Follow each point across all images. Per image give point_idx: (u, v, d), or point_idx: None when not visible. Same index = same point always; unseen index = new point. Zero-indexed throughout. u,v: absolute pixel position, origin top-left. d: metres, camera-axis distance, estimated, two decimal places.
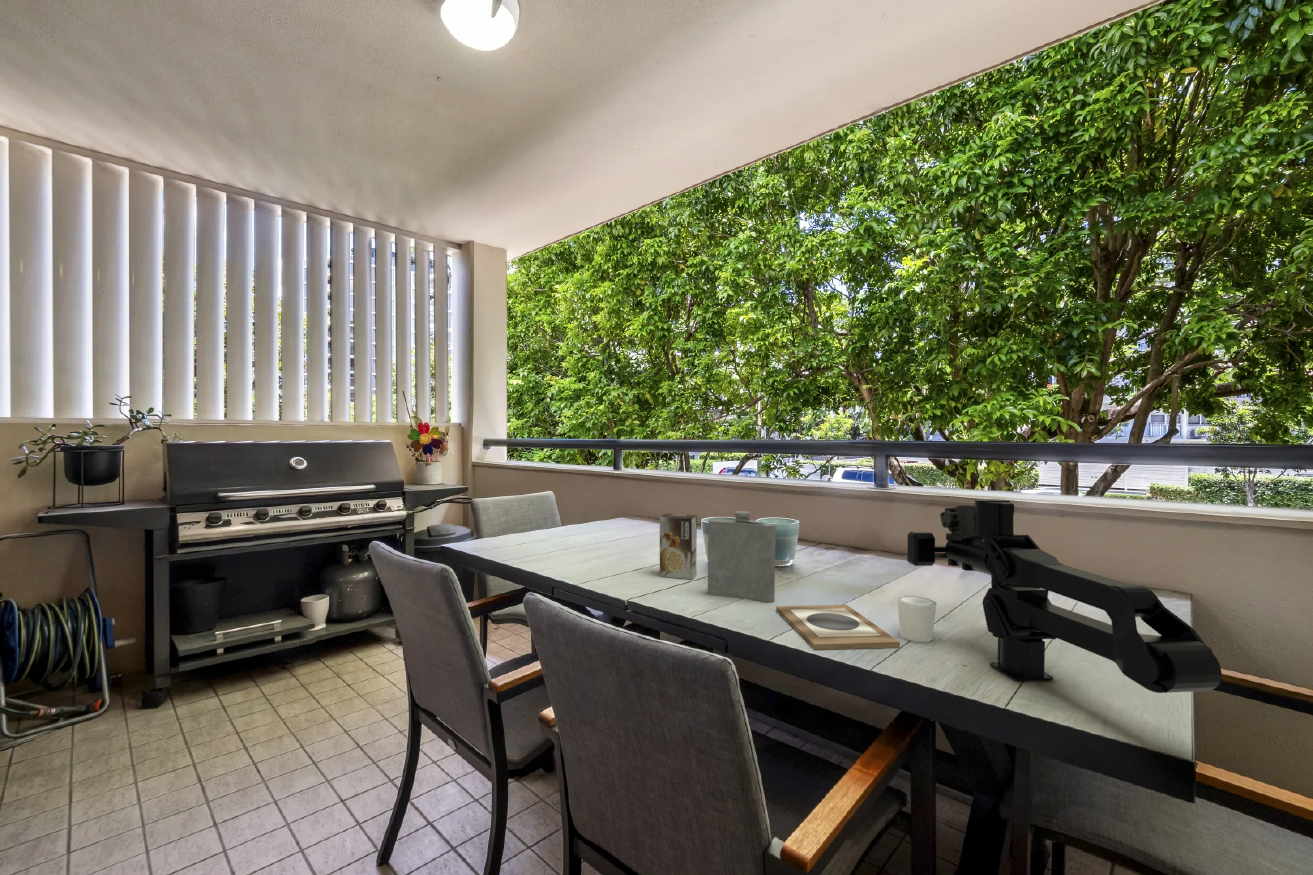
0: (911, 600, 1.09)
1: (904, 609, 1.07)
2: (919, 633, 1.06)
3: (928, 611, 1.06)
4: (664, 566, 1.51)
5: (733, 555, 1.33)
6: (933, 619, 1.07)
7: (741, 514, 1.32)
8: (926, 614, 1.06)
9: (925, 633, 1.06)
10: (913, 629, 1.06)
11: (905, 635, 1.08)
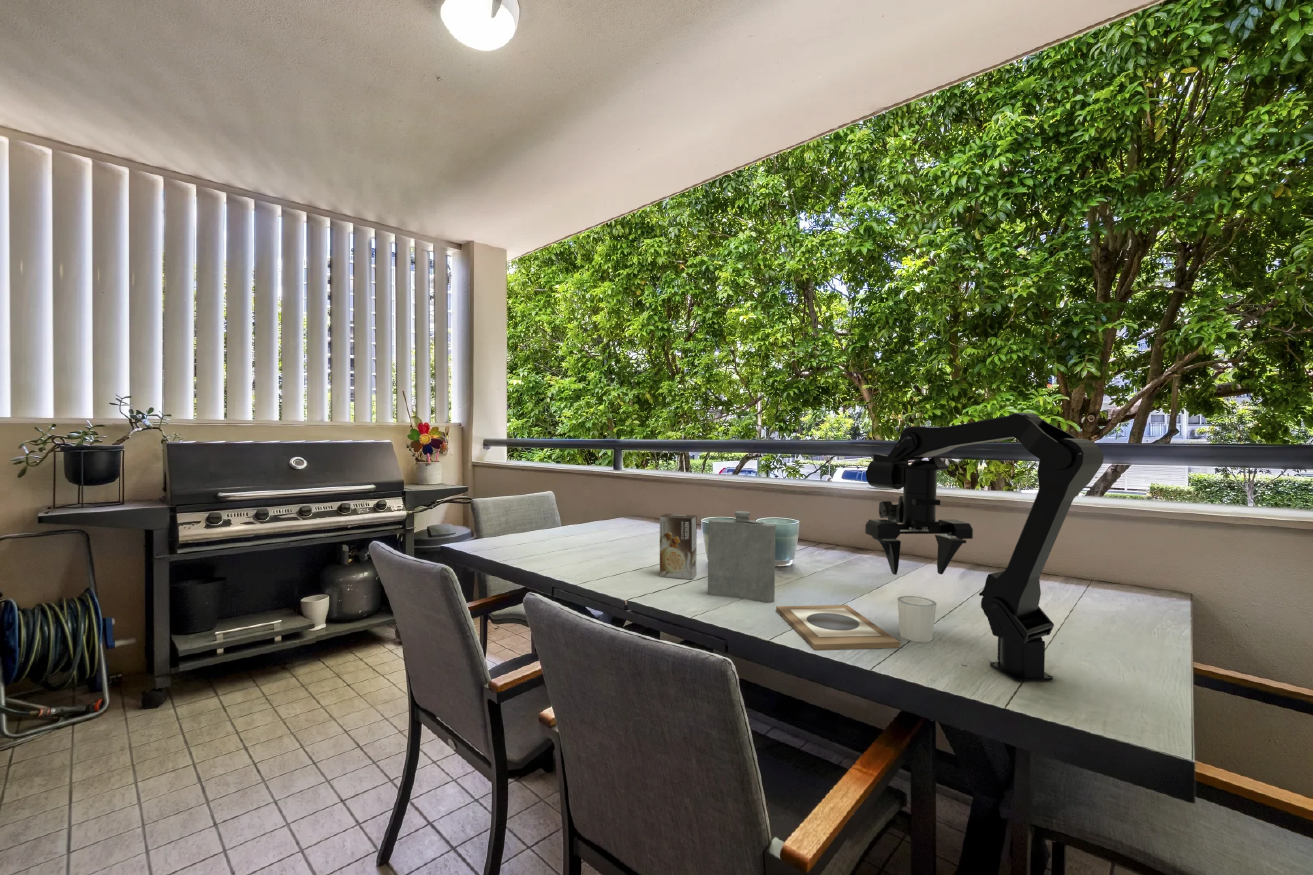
0: (911, 600, 1.09)
1: (904, 609, 1.07)
2: (919, 633, 1.06)
3: (928, 611, 1.06)
4: (664, 566, 1.51)
5: (733, 555, 1.33)
6: (933, 619, 1.07)
7: (741, 514, 1.32)
8: (926, 614, 1.06)
9: (925, 633, 1.06)
10: (913, 629, 1.06)
11: (905, 635, 1.08)
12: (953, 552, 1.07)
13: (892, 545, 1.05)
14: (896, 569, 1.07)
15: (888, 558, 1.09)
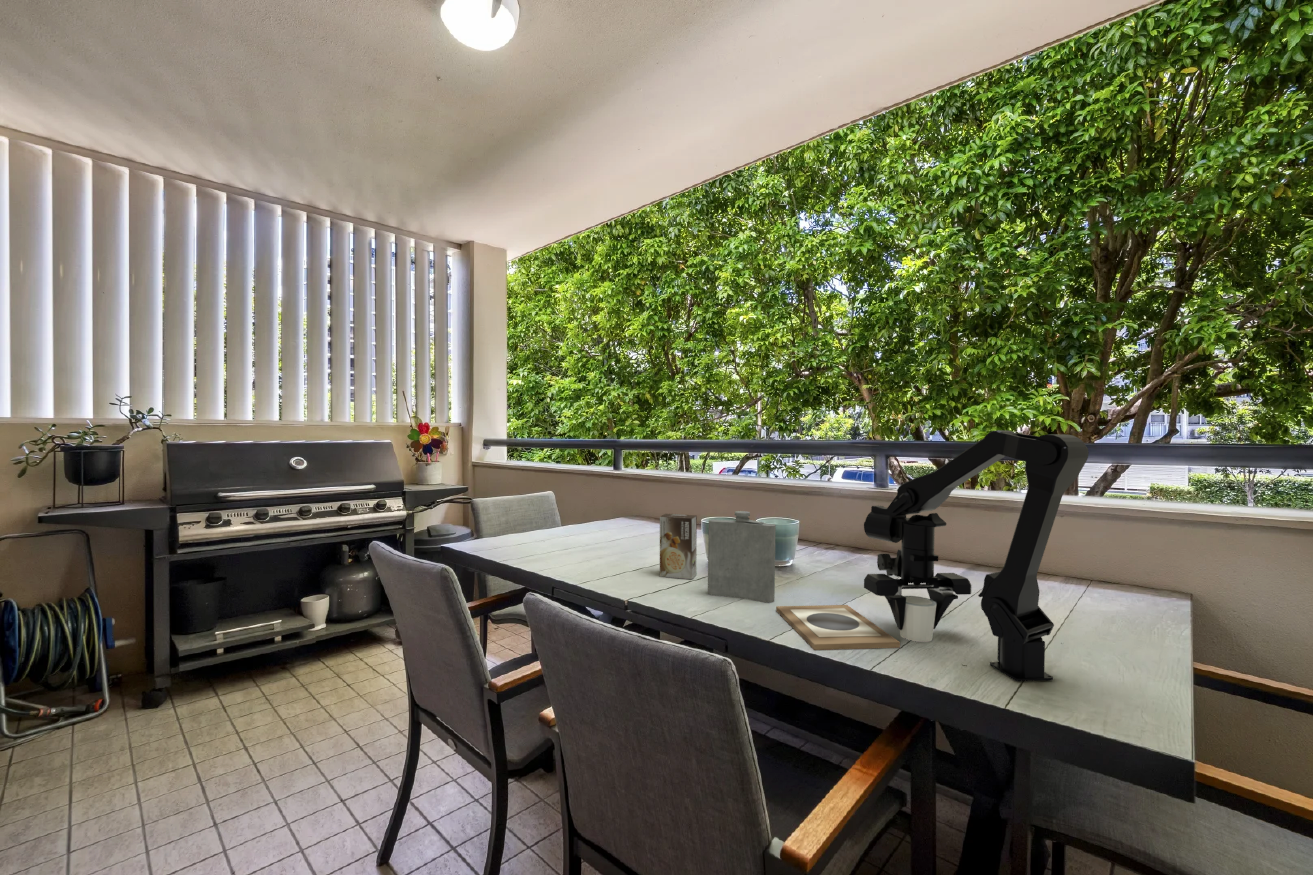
0: (911, 600, 1.09)
1: None
2: (919, 633, 1.06)
3: (928, 611, 1.06)
4: (664, 566, 1.51)
5: (733, 555, 1.33)
6: (933, 619, 1.07)
7: (741, 514, 1.32)
8: (926, 614, 1.06)
9: (925, 633, 1.06)
10: (913, 629, 1.06)
11: (905, 635, 1.08)
12: (945, 607, 1.07)
13: (897, 601, 1.06)
14: (902, 624, 1.08)
15: (893, 613, 1.09)
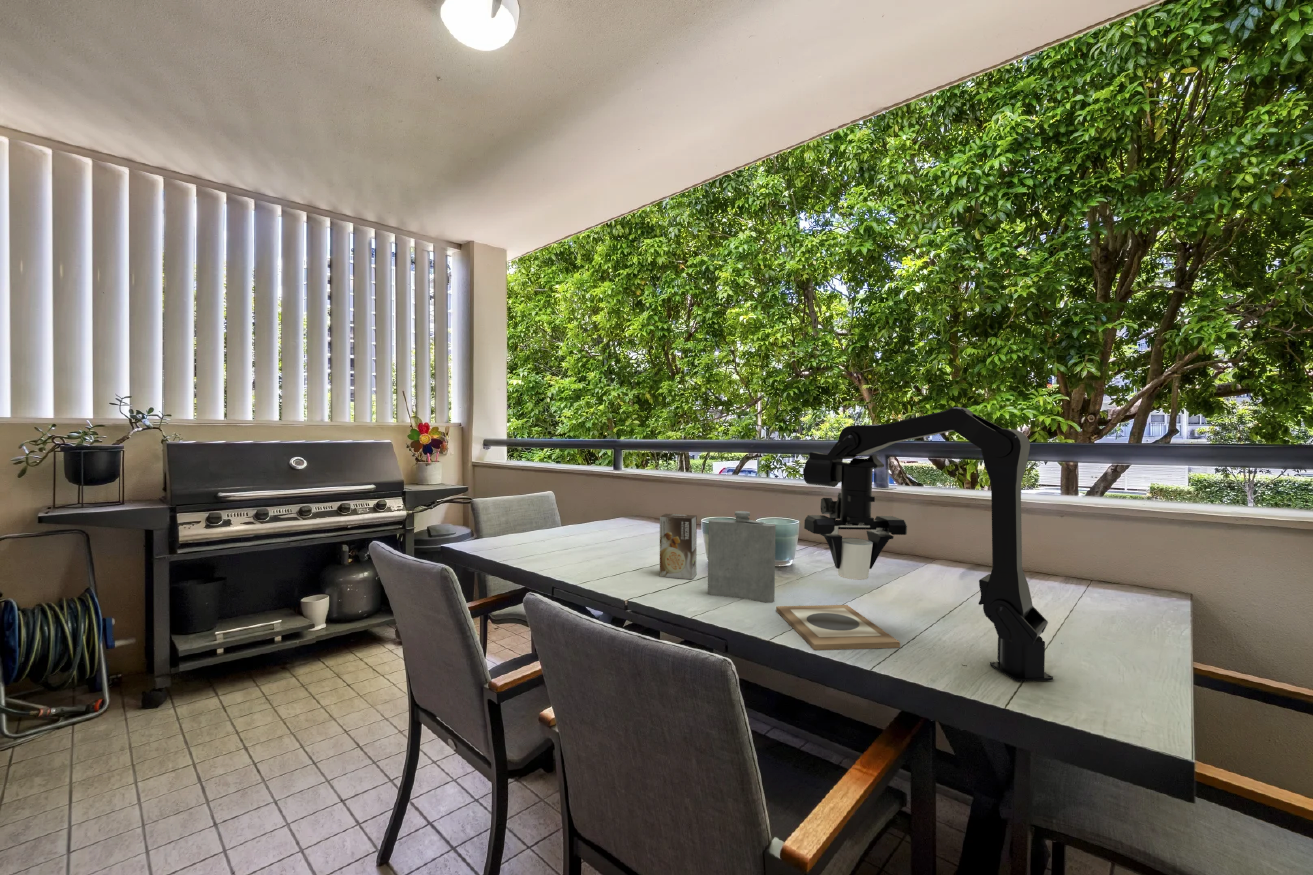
0: (849, 540, 1.13)
1: None
2: (854, 571, 1.10)
3: (863, 549, 1.09)
4: (664, 566, 1.51)
5: (733, 555, 1.33)
6: (868, 558, 1.10)
7: (741, 514, 1.32)
8: (862, 552, 1.09)
9: (860, 571, 1.10)
10: (849, 567, 1.10)
11: (842, 573, 1.11)
12: (881, 547, 1.11)
13: (834, 540, 1.09)
14: (839, 563, 1.11)
15: (832, 553, 1.12)
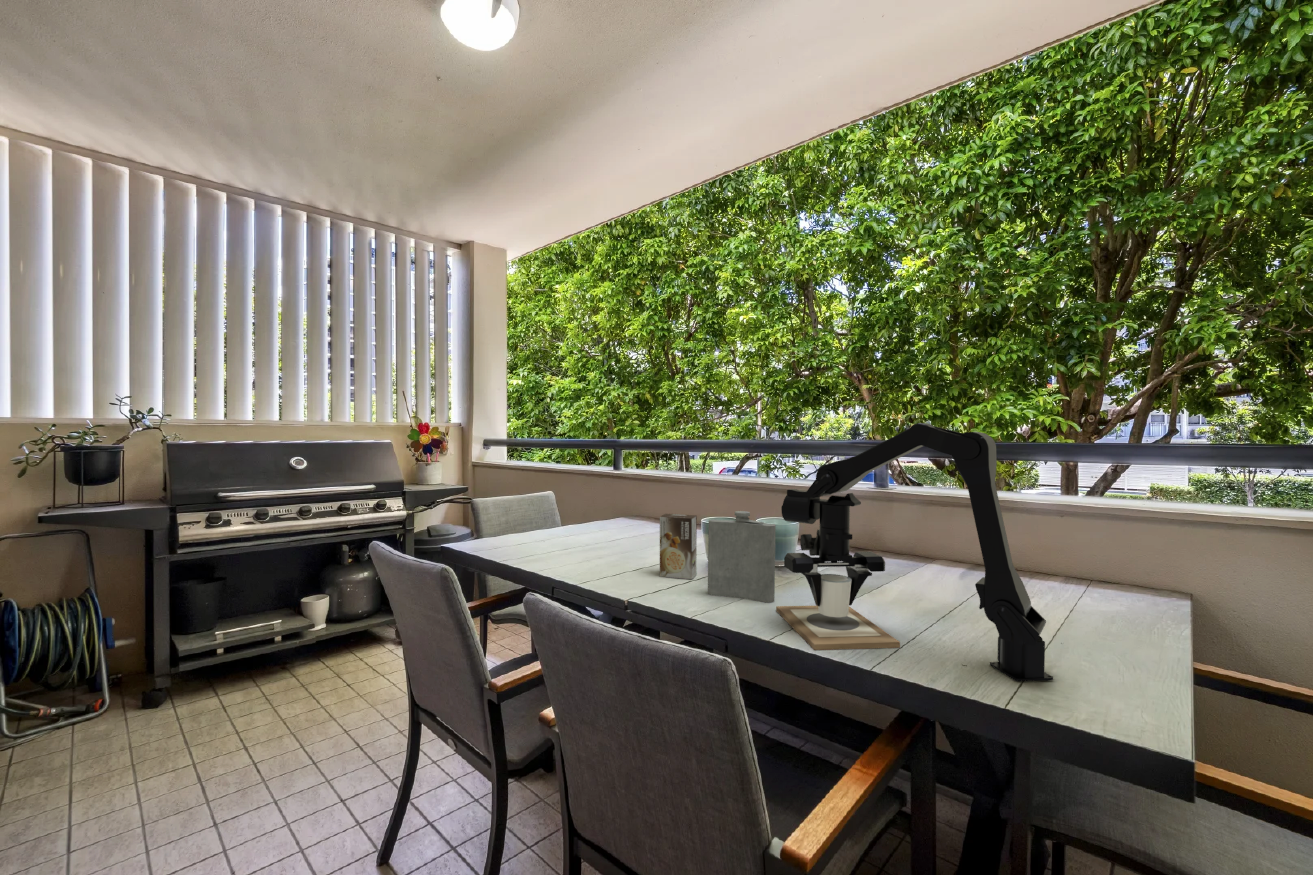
0: (829, 577, 1.14)
1: None
2: (834, 609, 1.11)
3: (842, 587, 1.10)
4: (664, 566, 1.51)
5: (733, 555, 1.33)
6: (847, 595, 1.11)
7: (741, 514, 1.32)
8: (841, 590, 1.10)
9: (840, 608, 1.11)
10: (829, 604, 1.11)
11: (822, 611, 1.12)
12: (860, 584, 1.12)
13: (813, 578, 1.10)
14: (819, 601, 1.12)
15: (812, 590, 1.13)
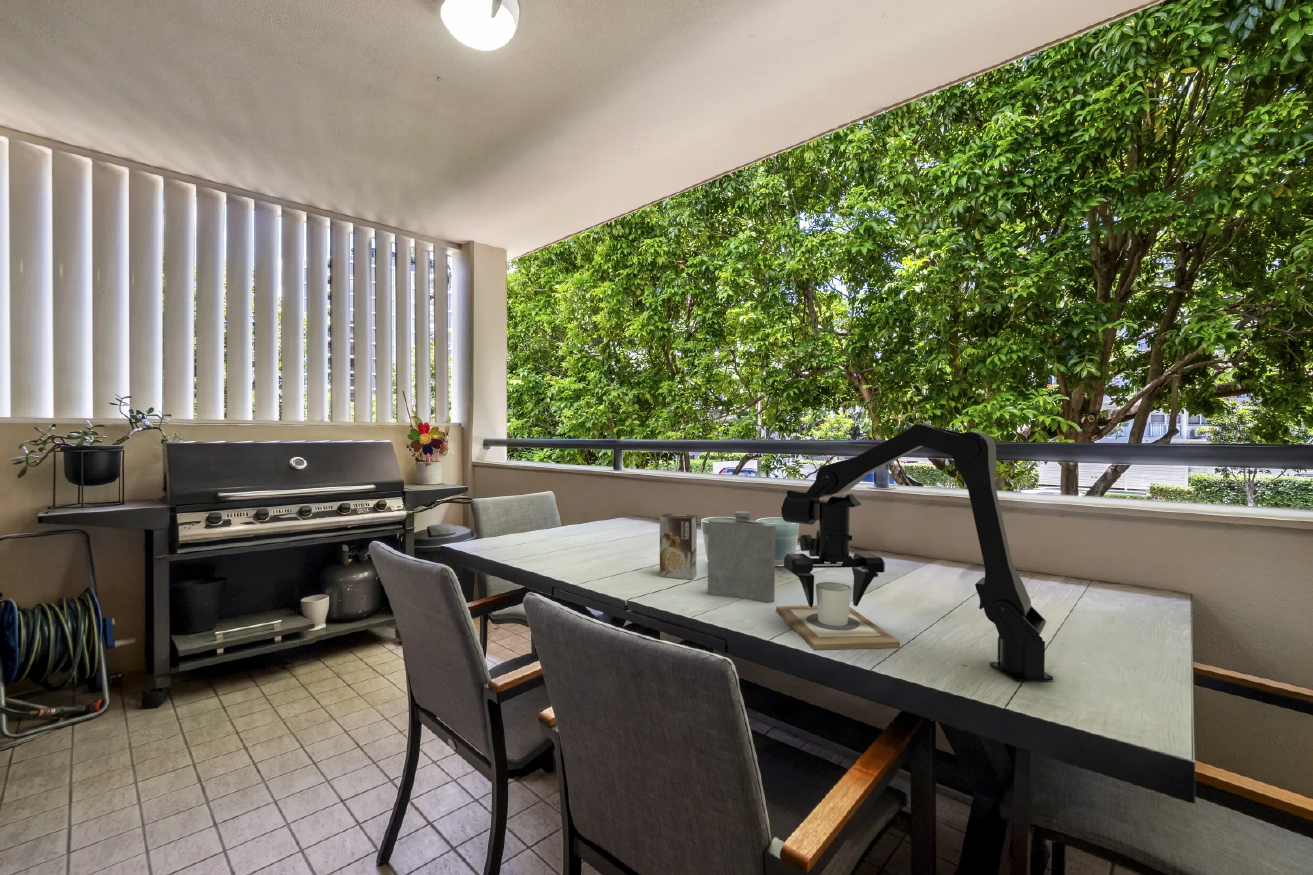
0: (828, 586, 1.14)
1: (820, 594, 1.12)
2: (834, 617, 1.11)
3: (842, 596, 1.10)
4: (664, 566, 1.51)
5: (733, 555, 1.33)
6: (847, 604, 1.11)
7: (741, 514, 1.32)
8: (840, 599, 1.10)
9: (840, 617, 1.11)
10: (828, 613, 1.11)
11: (822, 619, 1.12)
12: (866, 585, 1.12)
13: (806, 579, 1.10)
14: (811, 602, 1.12)
15: (805, 591, 1.13)
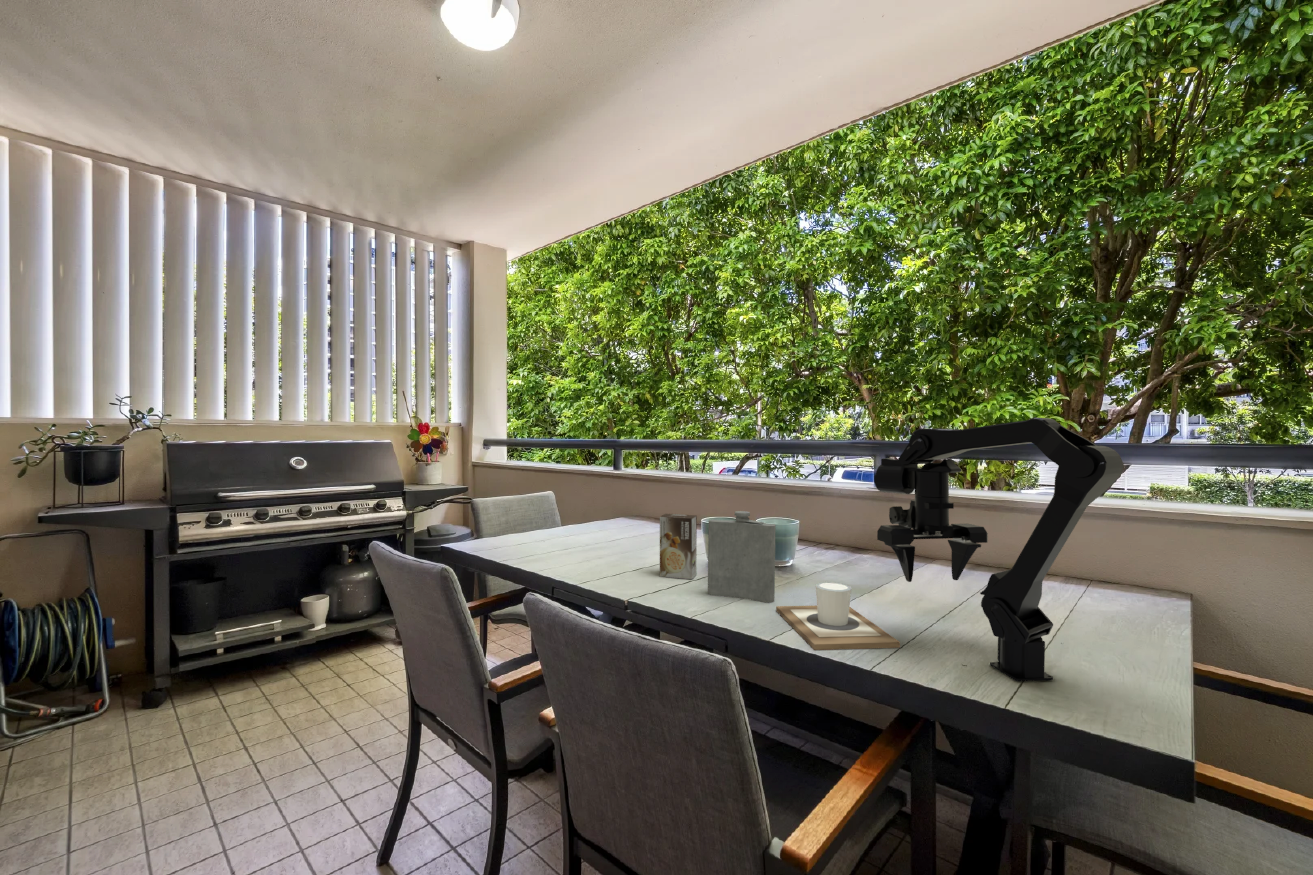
0: (828, 586, 1.14)
1: (820, 594, 1.12)
2: (834, 617, 1.11)
3: (842, 596, 1.10)
4: (664, 566, 1.51)
5: (733, 555, 1.33)
6: (847, 604, 1.11)
7: (741, 514, 1.32)
8: (840, 599, 1.10)
9: (840, 617, 1.11)
10: (828, 613, 1.11)
11: (822, 619, 1.12)
12: (968, 557, 1.04)
13: (906, 551, 1.02)
14: (911, 576, 1.04)
15: (902, 565, 1.05)
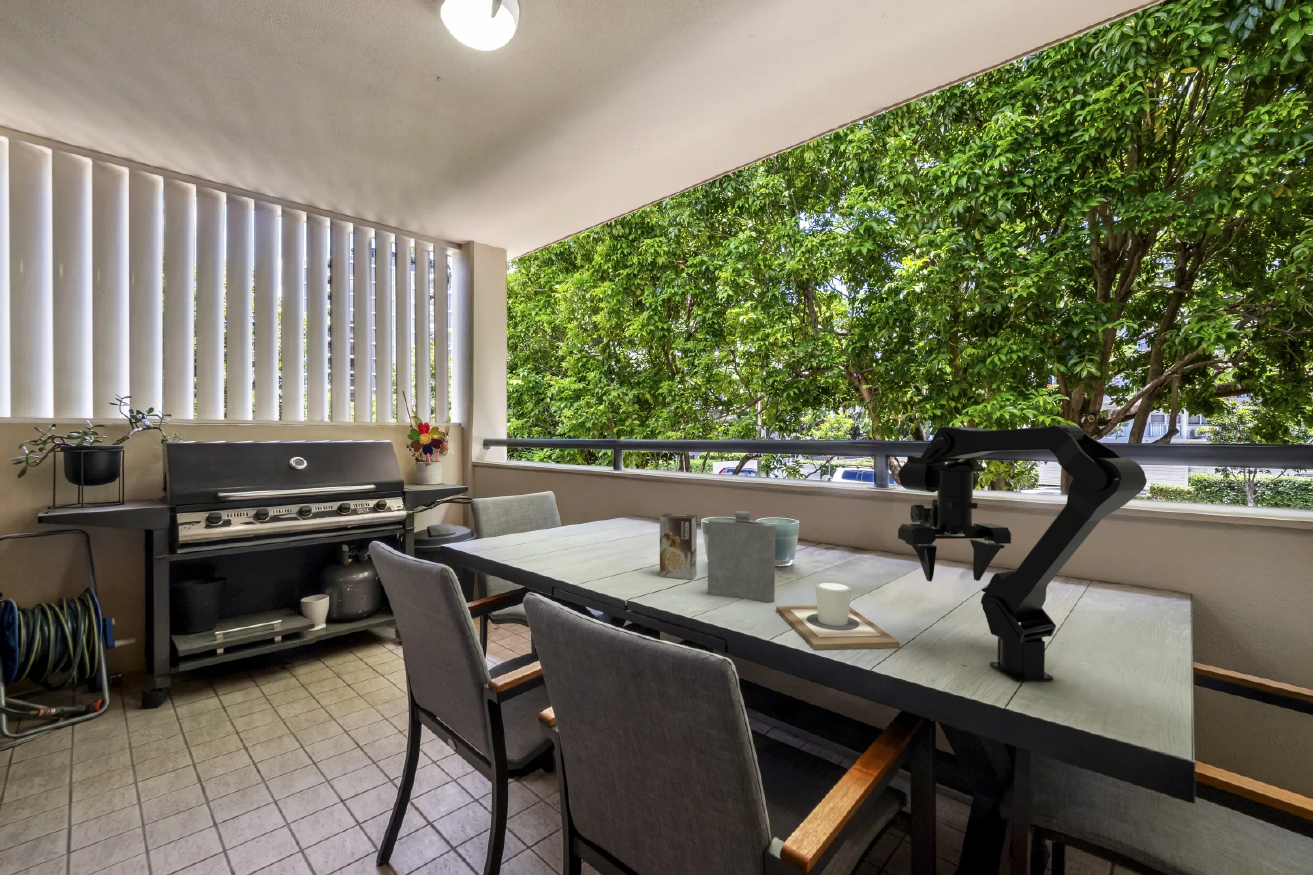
0: (828, 586, 1.14)
1: (820, 594, 1.12)
2: (834, 617, 1.11)
3: (842, 596, 1.10)
4: (664, 566, 1.51)
5: (733, 555, 1.33)
6: (847, 604, 1.11)
7: (741, 514, 1.32)
8: (841, 599, 1.10)
9: (840, 617, 1.11)
10: (828, 613, 1.11)
11: (822, 619, 1.12)
12: (991, 558, 1.03)
13: (928, 551, 1.01)
14: (931, 576, 1.03)
15: (922, 564, 1.04)
